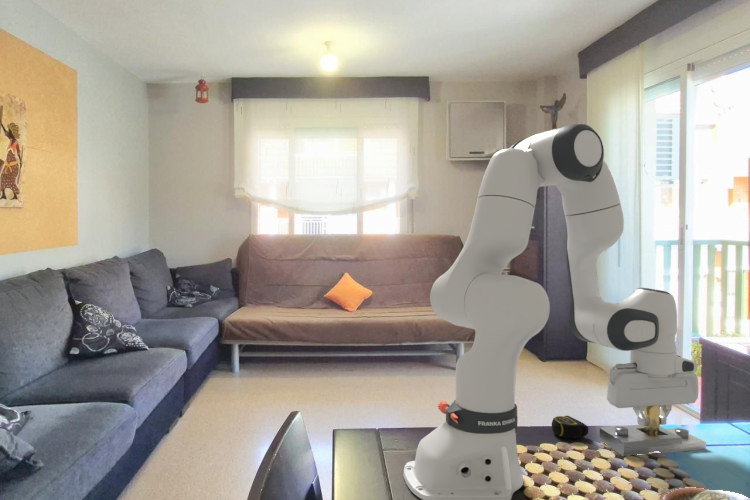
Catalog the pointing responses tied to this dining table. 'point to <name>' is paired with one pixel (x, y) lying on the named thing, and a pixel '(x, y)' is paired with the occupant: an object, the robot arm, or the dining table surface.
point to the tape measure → (569, 427)
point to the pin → (652, 420)
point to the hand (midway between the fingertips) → (651, 424)
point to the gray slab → (649, 440)
